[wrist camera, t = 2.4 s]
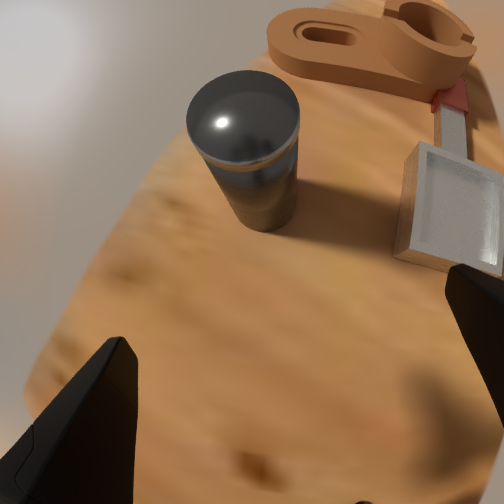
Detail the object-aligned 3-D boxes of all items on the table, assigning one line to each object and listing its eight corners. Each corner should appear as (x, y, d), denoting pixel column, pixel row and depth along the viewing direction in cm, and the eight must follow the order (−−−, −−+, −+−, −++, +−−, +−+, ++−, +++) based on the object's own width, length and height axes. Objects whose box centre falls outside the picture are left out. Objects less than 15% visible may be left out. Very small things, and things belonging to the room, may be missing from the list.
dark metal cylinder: (308, 211, 21) (323, 124, 11) (252, 244, 22) (216, 183, 11) (275, 162, 22) (261, 55, 12) (221, 192, 22) (168, 102, 12)
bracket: (442, 56, 23) (463, 12, 16) (455, 115, 22) (487, 70, 15) (275, 24, 26) (270, -27, 19) (262, 77, 24) (253, 20, 18)
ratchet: (391, 257, 20) (409, 248, 17) (407, 73, 23) (417, 49, 19) (476, 281, 19) (501, 276, 16) (475, 100, 21) (490, 80, 18)
